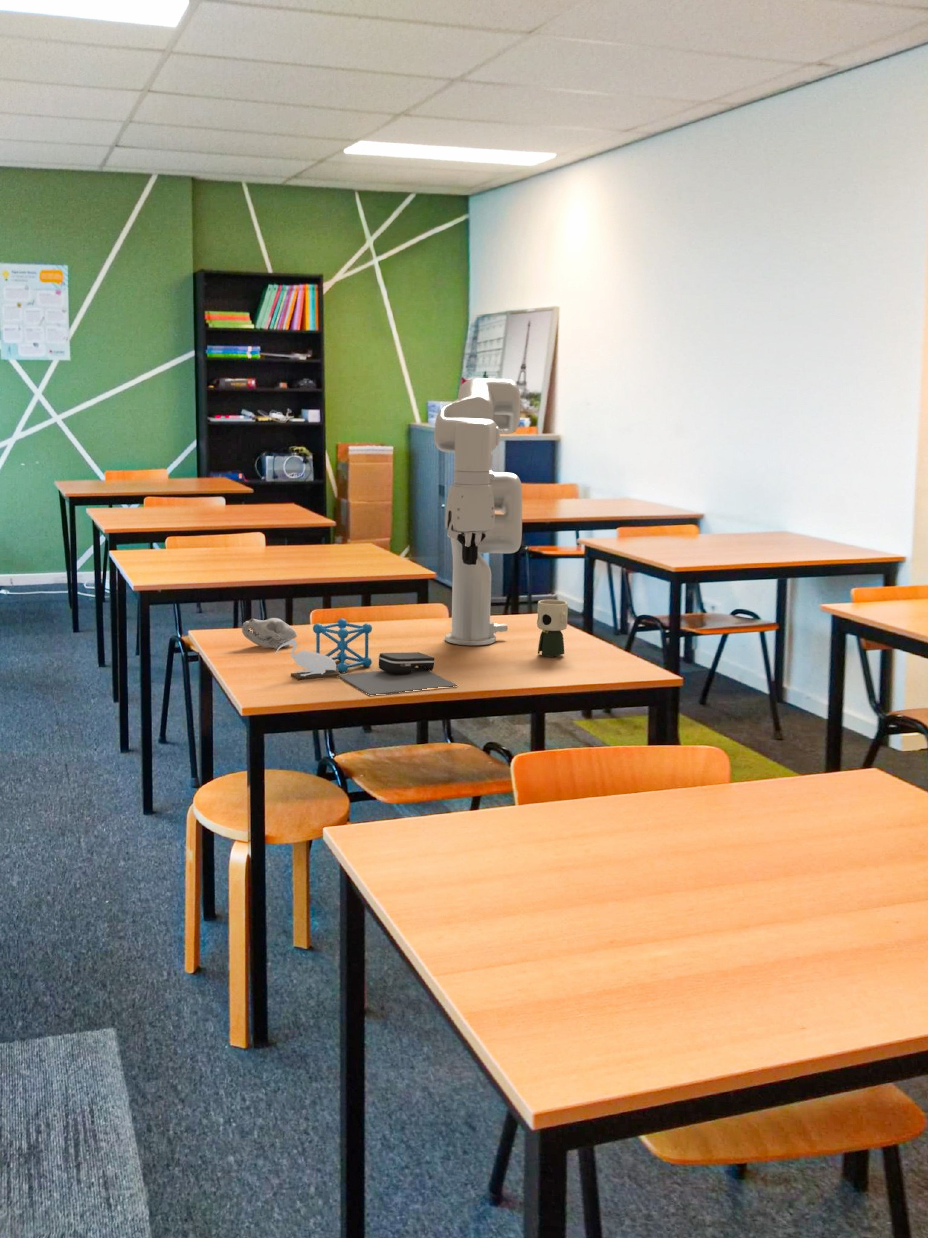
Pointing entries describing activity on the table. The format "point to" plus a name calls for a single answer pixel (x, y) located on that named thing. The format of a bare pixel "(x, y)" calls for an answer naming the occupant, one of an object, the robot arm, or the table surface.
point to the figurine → (312, 664)
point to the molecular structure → (344, 643)
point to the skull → (268, 632)
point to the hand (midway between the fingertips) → (469, 563)
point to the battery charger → (405, 662)
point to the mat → (395, 681)
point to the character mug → (552, 626)
